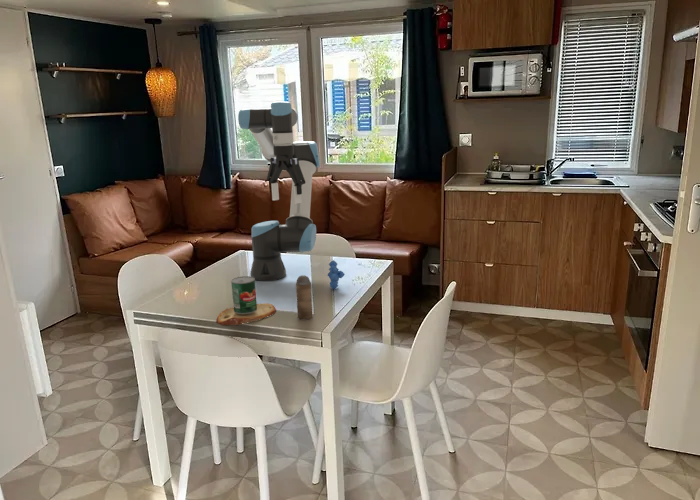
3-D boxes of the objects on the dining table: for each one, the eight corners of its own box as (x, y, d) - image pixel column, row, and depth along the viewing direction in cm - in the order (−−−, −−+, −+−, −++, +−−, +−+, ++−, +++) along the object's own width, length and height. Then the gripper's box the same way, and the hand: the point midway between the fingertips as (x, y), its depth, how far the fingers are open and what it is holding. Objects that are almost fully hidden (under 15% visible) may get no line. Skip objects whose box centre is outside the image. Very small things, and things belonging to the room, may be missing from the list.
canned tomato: (240, 305, 196) (238, 275, 193) (261, 307, 194) (258, 276, 191) (229, 313, 189) (226, 282, 186) (250, 315, 186) (247, 283, 184)
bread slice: (279, 309, 200) (278, 299, 199) (264, 328, 183) (263, 317, 182) (231, 308, 203) (230, 298, 202) (212, 326, 186) (211, 316, 185)
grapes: (345, 293, 213) (344, 263, 210) (327, 294, 213) (326, 263, 210) (345, 284, 224) (344, 255, 221) (328, 285, 224) (326, 256, 221)
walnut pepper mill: (294, 317, 190) (292, 275, 186) (306, 313, 193) (303, 272, 190) (304, 320, 186) (302, 278, 183) (315, 316, 190) (313, 275, 186)
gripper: (255, 144, 213) (259, 200, 218) (297, 146, 196) (300, 206, 201) (271, 143, 218) (274, 197, 223) (313, 144, 201) (315, 203, 206)
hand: (286, 201), depth 212 cm, fingers open, 13 cm apart
